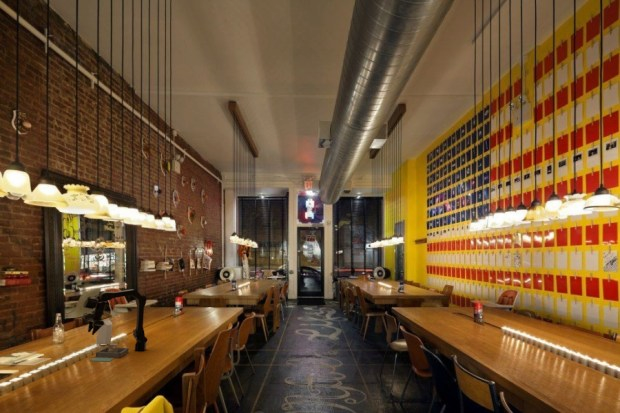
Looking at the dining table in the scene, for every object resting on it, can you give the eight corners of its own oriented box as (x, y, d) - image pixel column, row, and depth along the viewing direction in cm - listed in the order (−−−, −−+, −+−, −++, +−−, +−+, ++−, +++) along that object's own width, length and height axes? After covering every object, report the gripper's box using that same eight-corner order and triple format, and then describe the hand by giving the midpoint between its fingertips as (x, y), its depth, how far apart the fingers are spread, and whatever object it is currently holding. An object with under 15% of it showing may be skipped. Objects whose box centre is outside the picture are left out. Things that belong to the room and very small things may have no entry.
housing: (128, 352, 275) (128, 348, 275) (119, 357, 261) (120, 353, 261) (105, 351, 274) (105, 347, 274) (95, 357, 260) (96, 352, 261)
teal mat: (113, 358, 258) (113, 358, 258) (108, 361, 251) (109, 361, 252) (95, 358, 258) (95, 357, 258) (90, 361, 251) (90, 360, 251)
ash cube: (117, 349, 270) (117, 343, 270) (114, 351, 266) (115, 345, 266) (111, 349, 270) (111, 343, 270) (108, 350, 266) (109, 344, 266)
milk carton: (110, 343, 296) (113, 318, 298) (104, 345, 288) (107, 319, 291) (101, 343, 296) (104, 317, 298) (96, 345, 289) (98, 319, 291)
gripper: (83, 306, 266) (74, 329, 262) (90, 310, 253) (81, 334, 249) (100, 309, 273) (91, 331, 269) (108, 313, 260) (99, 337, 256)
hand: (90, 333), depth 260 cm, fingers open, 9 cm apart
